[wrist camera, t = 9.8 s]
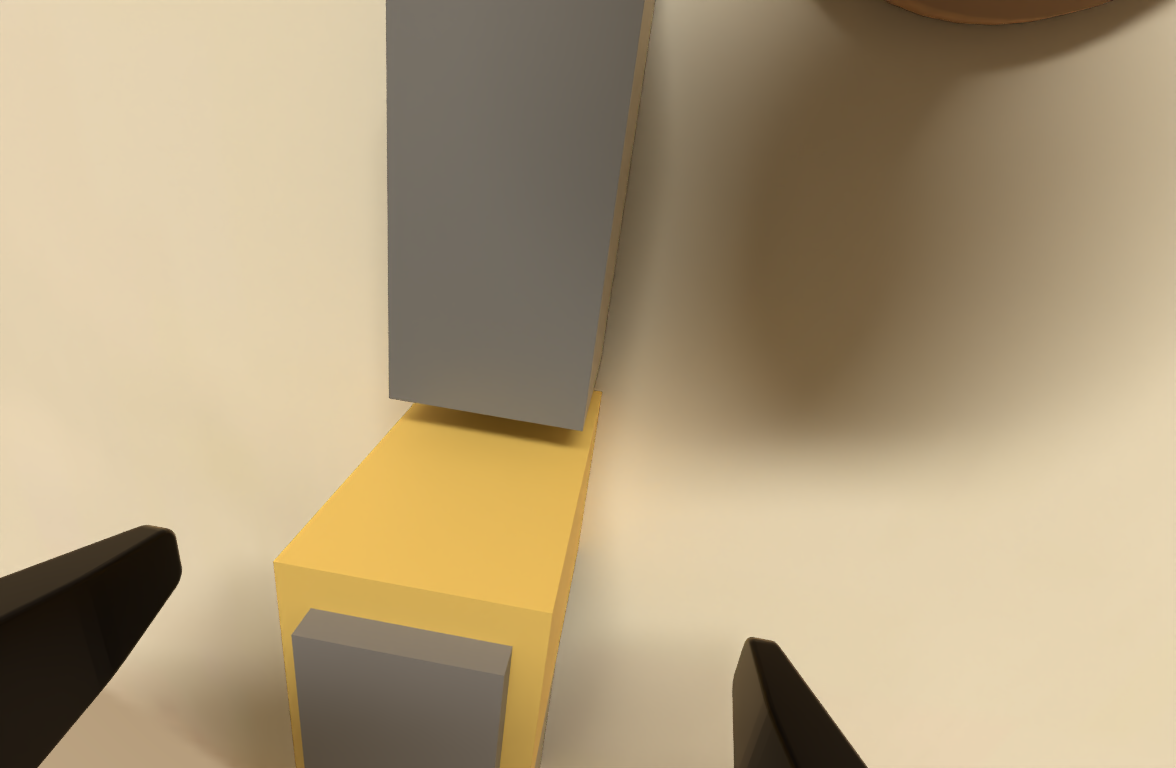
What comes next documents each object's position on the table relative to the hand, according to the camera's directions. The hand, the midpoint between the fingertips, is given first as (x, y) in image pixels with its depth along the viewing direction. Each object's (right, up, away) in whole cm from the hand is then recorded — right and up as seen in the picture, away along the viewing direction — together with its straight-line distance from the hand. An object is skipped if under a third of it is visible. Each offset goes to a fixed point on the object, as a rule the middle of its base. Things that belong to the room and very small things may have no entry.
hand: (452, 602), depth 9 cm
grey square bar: (0, +2, +4) cm, 4 cm away
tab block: (+1, +2, +4) cm, 4 cm away
